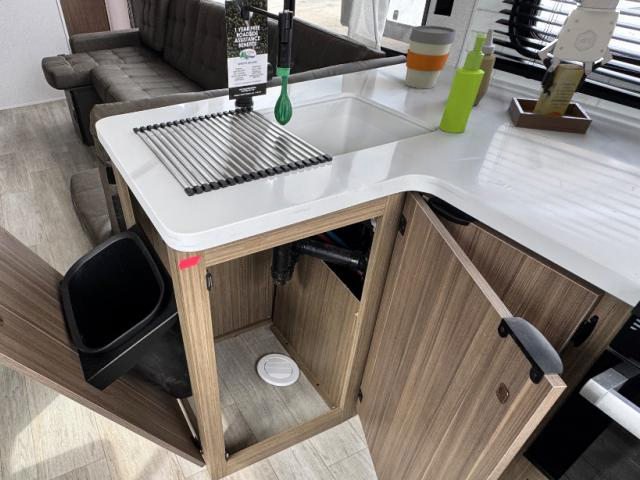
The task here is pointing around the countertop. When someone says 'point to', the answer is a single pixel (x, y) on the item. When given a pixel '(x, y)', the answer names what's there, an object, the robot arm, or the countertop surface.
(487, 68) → the squeeze bottle
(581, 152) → the countertop surface
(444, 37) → the reusable coffee cup
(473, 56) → the soap dispenser
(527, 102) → the tray
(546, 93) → the shoe polish box
